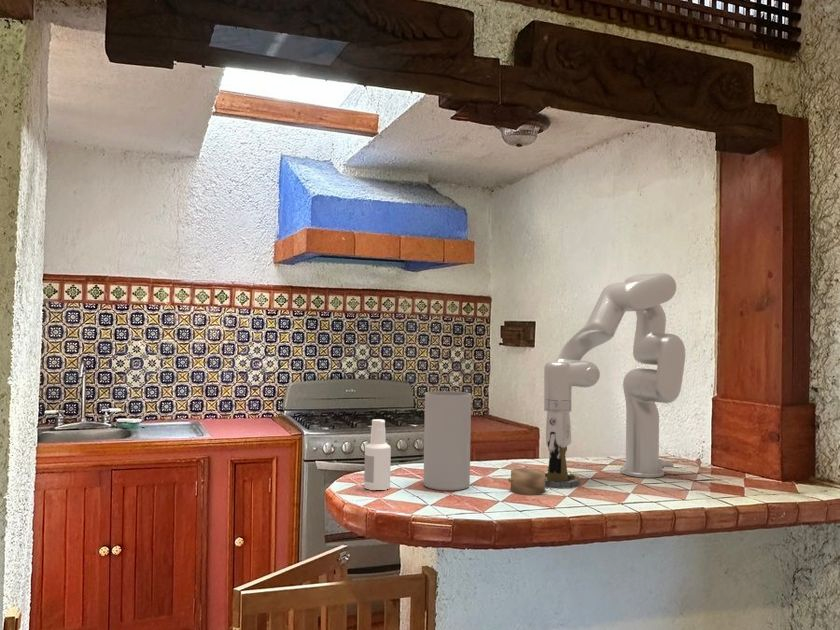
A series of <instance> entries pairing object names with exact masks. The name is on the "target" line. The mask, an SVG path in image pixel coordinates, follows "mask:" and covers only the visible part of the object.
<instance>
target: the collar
mask: <svg viewBox="0 0 840 630" xmlns="http://www.w3.org/2000/svg"><path fill="white" fill-rule="evenodd" d="M547 473H548V472H545V477H547ZM579 486H580V475H578V474H577V473H575V472H574V473H569V474H568V481H549V480H547V481H545V488H550V487H551V488H552V489H572V488H577V487H579Z"/></svg>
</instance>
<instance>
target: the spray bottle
mask: <svg viewBox="0 0 840 630" xmlns="http://www.w3.org/2000/svg"><path fill="white" fill-rule="evenodd" d="M386 439H387V438H386V420H385V419H381V418H379V419H377V418H376V419H374V418H373V419H372V420H371V428H370V439H369V440H370V442H369V443H368V444H366V445H365V446H364V472H363V473H364V480H363V481H364V482H363V488H364V487H365V488H366V489H370V490H385V491H388V490H390V488H391V460H392V459H391V453H392V451H391V450H392V448H391V445H390V444H388V443H387V442H386ZM365 488H364V489H365ZM366 489H365V490H366ZM387 489H388V490H387ZM370 490H369V491H370Z"/></svg>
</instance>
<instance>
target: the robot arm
mask: <svg viewBox="0 0 840 630" xmlns="http://www.w3.org/2000/svg"><path fill="white" fill-rule="evenodd" d="M676 292H677V282H676V280H675V279H674V277H673V276H672V275H670V274H669V273H665V272H664V273H663V272H659V273H647V274H643V273H642V274H636V275H631V276H629V277H628V278H626V279H625V280H624V282H615V283H614V282H613V283H610V284H607V285H606V286H605V287H603V289H602V291H601V293H600V295H599V296H598V299H597V301H596V303H595V305H594V307H593V309H592V311H591V313H590V315H589V318H588V319H587V322H586V323H585V325H584V326H583V327H582V328H581V329H579V330H578V331H577V332H576V333H575V334H573V336H571V337H570V339H569V340H567V342H566V343H565V344H564V346H563V347H562V348H561V351H560V353H559V354H558V356H557V359H556V360H555V361H547V362H546V363H545V364H544V367H543V369H544V370H543V371H544V373H543V374H544V375H543V378H544V380H543V383H544V385H543V387H544V388H543V390H544V391H543V395H544V396H543V411H544V412H546V419H545V420H546V423H545V445H546V447H547V448H548V447H549V450H548V452H549V455H548V456H549V459H548V466H549V472H550V473H553V472H554V471H556V473H559V474H560V473H561V459H560V447H561V448H565V447H566V446H567V447H568V446H570V444H571V443H572V431H571V430H572V429H571V414H570V413H571V412H572V388H573V387H578V388H590V387H593V386H595V385H596V384H597V383H598V381H599V380H600V377H601V375H600V374H601V372H600V369H599V368H598V366H597V364H595V363H593V362H592V361H588V360H582V359H583V357H584V356H586V354H587V353H588V352H590V351H591V350H593V349H594V348H596V347H599V346H602V345H603V344H605V343H607V342H609V341H610V340H612V339H613V337H614V336H615V334H616V332H617V329H618V327H619V325H620V323H621V321H622V320H623V317H624V315H625V313H626V312H635V315H636V323H635V324H636V325H635V332H634V340H633V346H632V347H633V349H632V356H633V358H634V360H635V361H636V362H638V363H640V364H642V365H643V364H644V365H652V366H656V369H653V368H643V367H642V368H640V367H639V368H634V369H631V370H629V371H628V372H627V373H626V374H625V376H624V378H623V383H622V389H623V394H624V400H625V410H626V412H625V415H626V416H625V466H621V467H620V469H619V470H620V471H619V472H620V474H623V475H626V476H630V477H637V478H652V479H653V478H662V477H664V476H665V470H663V469H664V468H667V469H668V468H673V467H674V466H675V465H674V461H672V460H666V461H665V460H663V459H662V458H660V412H659V409H658V406H657V404H656V403H662V404H671V403H673V402H674V401H676V400H677V399H678V398H679V395H680V393H681V390H682V384H683V377H684V371H685V370H684V369H685V363H686V347H685V344H684V342H683V340H682V338H681V337H679V335H676V334H673V333H666V326H667V323H666V322H667V316H666V313H665V309H664V308H663V306H662V304H665V303H667V302H669V301H671V300H672V299H673V298H674V296H675V294H676ZM549 443H550V444H549ZM555 445H558V447H555ZM555 449H557V450H558V451H557V450H555ZM566 453H567V452H566ZM566 453H565V457H567V456H566Z"/></svg>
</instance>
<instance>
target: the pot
mask: <svg viewBox="0 0 840 630" xmlns="http://www.w3.org/2000/svg"><path fill="white" fill-rule="evenodd" d="M545 473H546V472H545V471H544V470H540V469H537V468H528V467H527V468H525V467H524V468H523V467H522V468H520V467H519V468H513V469H511V470H510V477H508V478H507V480H508V482H509V483H510V492H512V493H515V494H519V495H524V496H525V495H526V496H527V495H528V496H534V495H535V496H537V495H542V494H545V492H546V487H545V481H547V477H545Z"/></svg>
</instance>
